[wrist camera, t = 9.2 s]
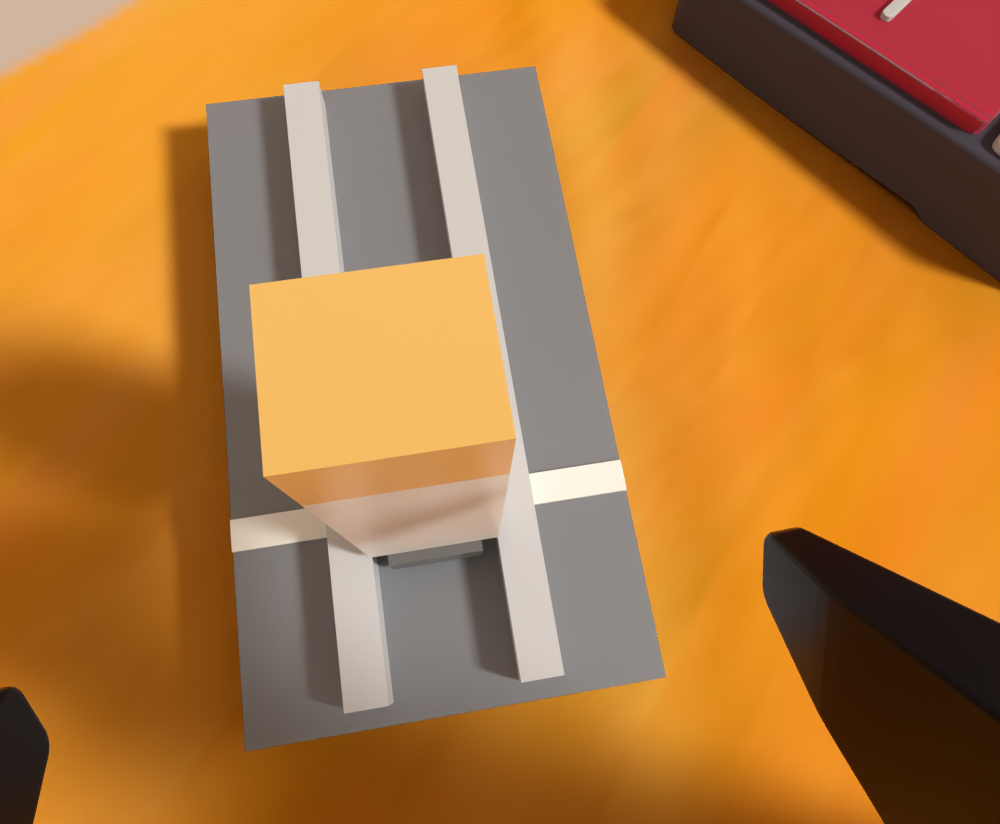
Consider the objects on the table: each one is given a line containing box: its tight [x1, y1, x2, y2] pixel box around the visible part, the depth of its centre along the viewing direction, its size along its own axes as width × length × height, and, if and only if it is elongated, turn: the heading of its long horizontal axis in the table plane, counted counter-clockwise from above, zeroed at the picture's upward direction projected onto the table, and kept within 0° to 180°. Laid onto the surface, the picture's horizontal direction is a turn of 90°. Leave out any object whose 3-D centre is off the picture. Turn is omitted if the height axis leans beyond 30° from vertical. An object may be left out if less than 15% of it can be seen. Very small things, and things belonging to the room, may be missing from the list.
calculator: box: [673, 0, 1000, 282], centre depth 25 cm, size 11×4×15 cm
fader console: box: [206, 65, 666, 752], centre depth 21 cm, size 18×10×3 cm, turn 9°
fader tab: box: [249, 254, 516, 569], centre depth 14 cm, size 3×3×10 cm
